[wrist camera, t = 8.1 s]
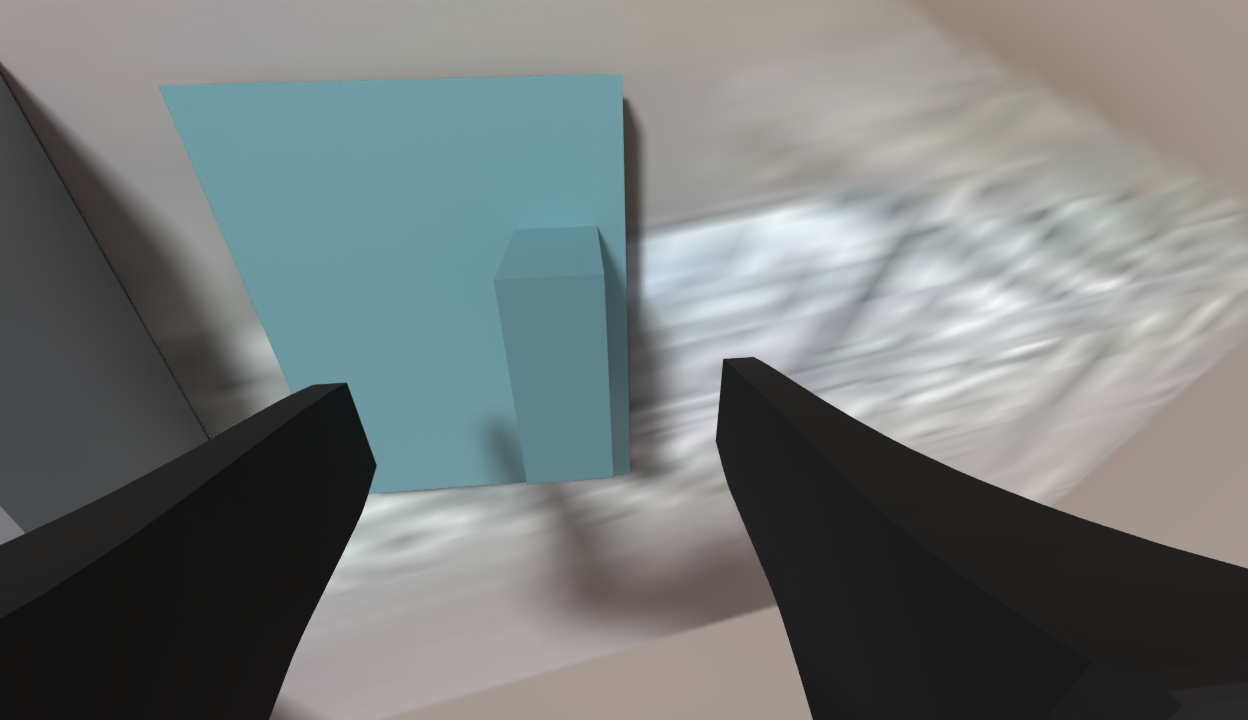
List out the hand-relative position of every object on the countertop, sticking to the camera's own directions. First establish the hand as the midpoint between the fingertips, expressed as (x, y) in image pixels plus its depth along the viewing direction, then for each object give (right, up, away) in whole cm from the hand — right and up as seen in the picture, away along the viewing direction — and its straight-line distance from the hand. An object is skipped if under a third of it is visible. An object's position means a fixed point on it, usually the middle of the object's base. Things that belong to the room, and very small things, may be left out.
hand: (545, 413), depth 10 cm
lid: (-3, +2, +4) cm, 6 cm away
